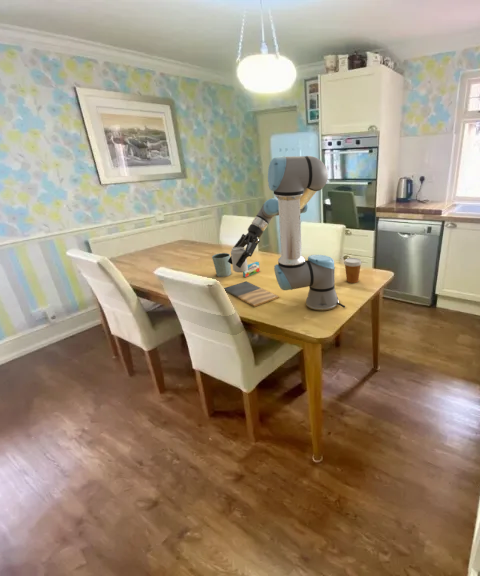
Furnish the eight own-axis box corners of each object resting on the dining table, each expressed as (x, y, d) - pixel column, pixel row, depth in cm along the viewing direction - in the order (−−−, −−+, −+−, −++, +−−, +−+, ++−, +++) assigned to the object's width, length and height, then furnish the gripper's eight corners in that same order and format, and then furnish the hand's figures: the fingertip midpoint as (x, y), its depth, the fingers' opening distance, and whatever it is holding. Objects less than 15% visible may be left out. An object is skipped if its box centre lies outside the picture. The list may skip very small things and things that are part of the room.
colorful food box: (258, 271, 196) (257, 261, 194) (259, 271, 195) (258, 261, 193) (243, 276, 187) (242, 266, 185) (245, 277, 186) (243, 267, 184)
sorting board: (278, 297, 158) (278, 296, 158) (254, 307, 149) (254, 305, 149) (246, 282, 178) (246, 281, 178) (223, 290, 169) (223, 288, 169)
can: (244, 273, 161) (241, 250, 156) (230, 272, 163) (227, 249, 158) (250, 268, 168) (247, 246, 163) (237, 267, 169) (234, 245, 165)
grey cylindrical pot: (234, 271, 196) (232, 253, 191) (228, 277, 187) (226, 258, 182) (219, 271, 197) (216, 253, 192) (212, 277, 188) (209, 258, 183)
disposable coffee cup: (364, 280, 176) (365, 259, 172) (354, 285, 170) (354, 264, 166) (351, 276, 183) (351, 256, 178) (340, 281, 176) (340, 260, 172)
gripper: (273, 234, 161) (249, 273, 157) (251, 229, 175) (229, 264, 171) (263, 226, 156) (238, 265, 152) (242, 221, 169) (218, 256, 166)
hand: (233, 264), depth 161 cm, fingers closed on can, 7 cm apart
